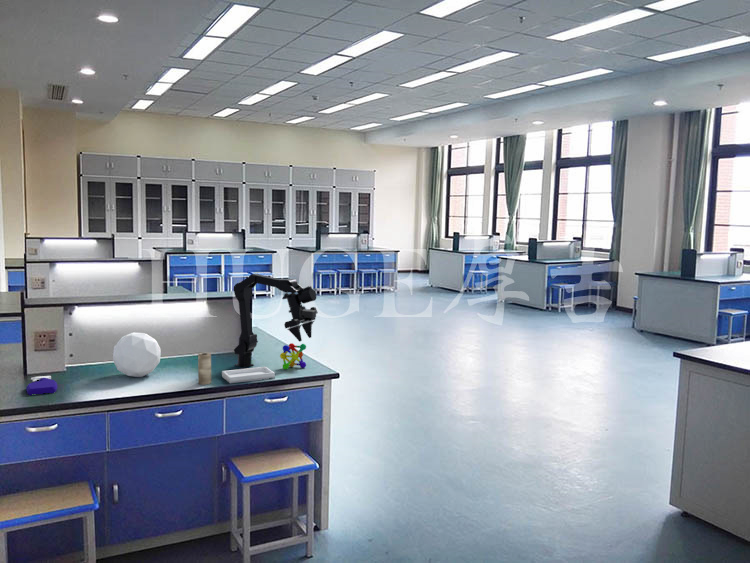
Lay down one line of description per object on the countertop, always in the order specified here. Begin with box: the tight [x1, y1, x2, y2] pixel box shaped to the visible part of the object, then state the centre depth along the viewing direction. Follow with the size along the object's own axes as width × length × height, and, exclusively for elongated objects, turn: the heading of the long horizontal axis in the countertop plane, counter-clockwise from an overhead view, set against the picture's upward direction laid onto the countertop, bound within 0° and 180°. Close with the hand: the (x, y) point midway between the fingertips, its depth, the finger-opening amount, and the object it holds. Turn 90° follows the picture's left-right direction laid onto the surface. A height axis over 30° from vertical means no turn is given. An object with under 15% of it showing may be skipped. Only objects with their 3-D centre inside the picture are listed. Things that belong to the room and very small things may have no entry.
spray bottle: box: [25, 375, 58, 396], centre depth 249 cm, size 3×11×24 cm
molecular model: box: [279, 342, 307, 370], centre depth 288 cm, size 12×7×12 cm, turn 116°
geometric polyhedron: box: [112, 331, 162, 378], centre depth 268 cm, size 19×20×20 cm
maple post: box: [197, 352, 212, 386], centre depth 259 cm, size 5×5×13 cm
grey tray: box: [221, 366, 276, 384], centre depth 270 cm, size 20×12×2 cm, turn 119°
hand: (305, 339), depth 277 cm, fingers open, 9 cm apart
